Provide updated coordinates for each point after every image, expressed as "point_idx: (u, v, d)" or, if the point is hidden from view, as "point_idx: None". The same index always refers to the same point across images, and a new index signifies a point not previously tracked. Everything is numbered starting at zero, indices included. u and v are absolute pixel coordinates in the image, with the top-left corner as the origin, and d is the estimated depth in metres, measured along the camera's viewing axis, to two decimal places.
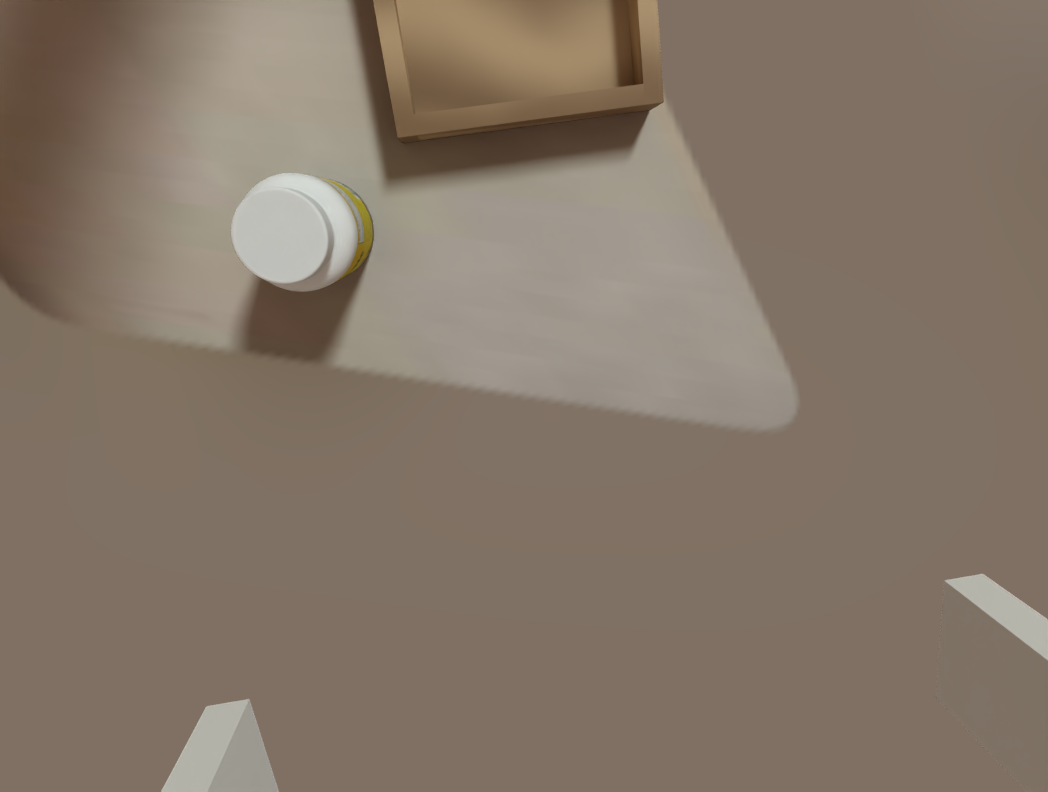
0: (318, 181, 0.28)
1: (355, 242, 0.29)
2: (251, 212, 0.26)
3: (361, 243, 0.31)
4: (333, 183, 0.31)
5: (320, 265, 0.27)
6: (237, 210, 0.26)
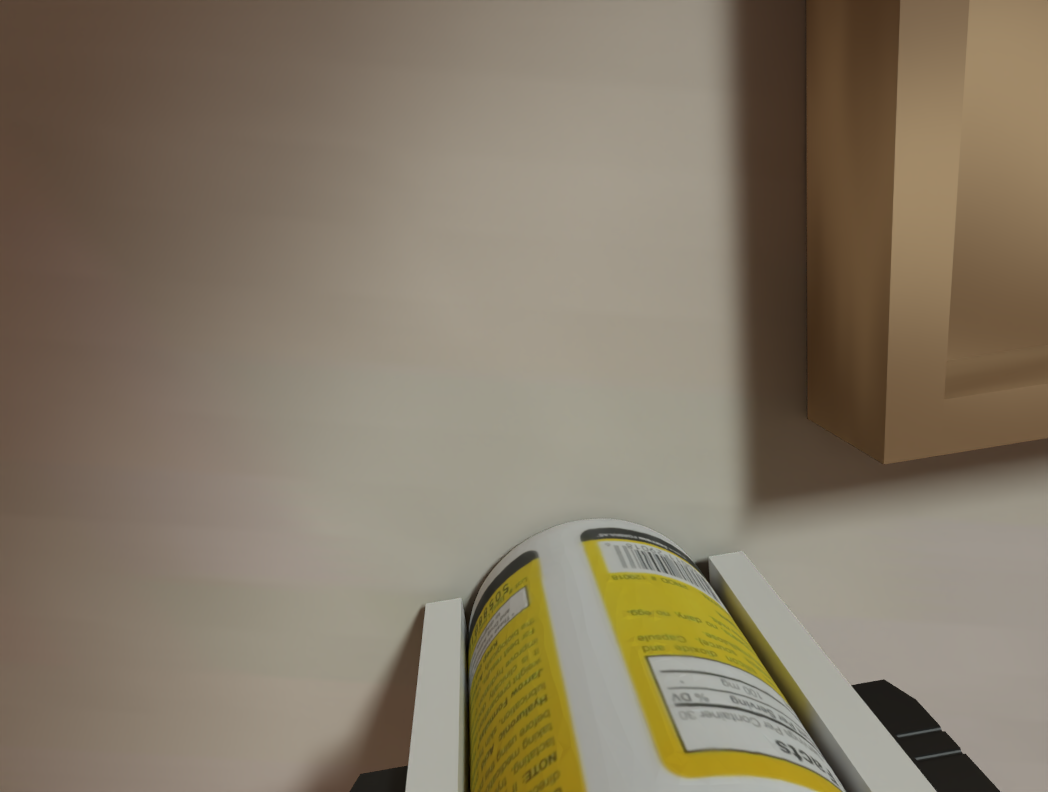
0: None
1: None
2: None
3: None
4: (738, 661, 0.09)
5: None
6: None
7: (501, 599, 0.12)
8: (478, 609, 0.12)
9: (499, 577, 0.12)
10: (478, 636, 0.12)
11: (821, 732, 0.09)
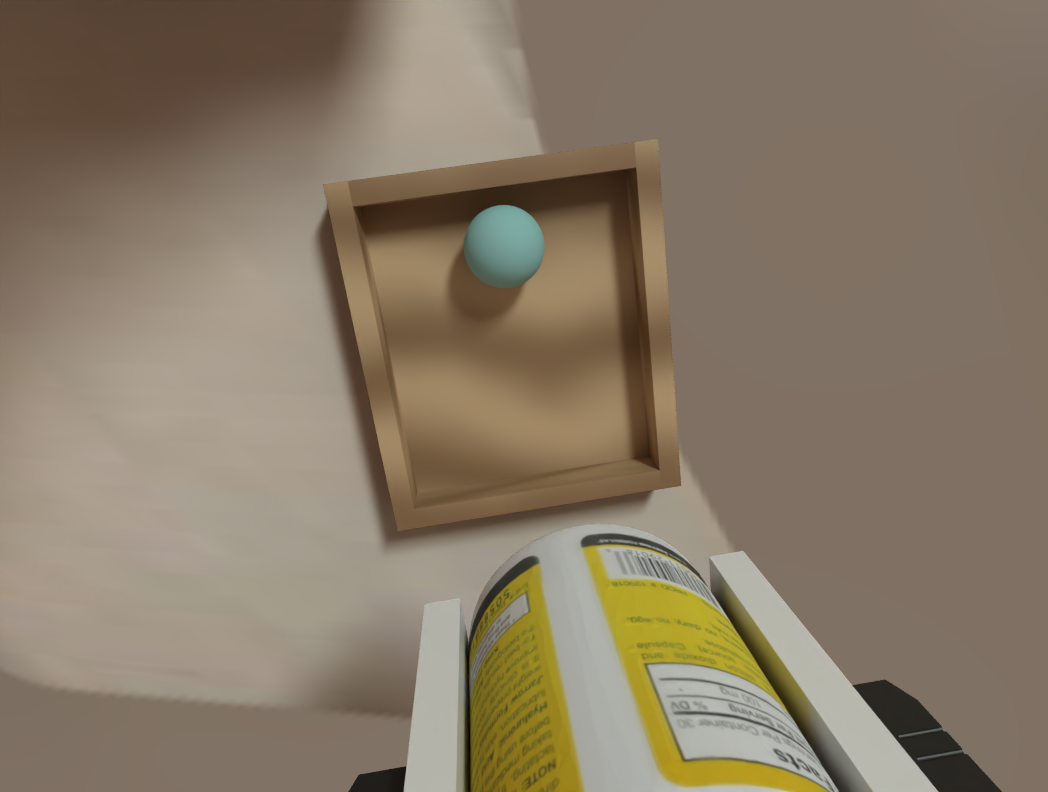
0: None
1: None
2: None
3: None
4: (737, 669, 0.09)
5: None
6: None
7: (502, 604, 0.12)
8: (479, 614, 0.13)
9: (500, 583, 0.12)
10: (478, 641, 0.12)
11: (822, 732, 0.09)
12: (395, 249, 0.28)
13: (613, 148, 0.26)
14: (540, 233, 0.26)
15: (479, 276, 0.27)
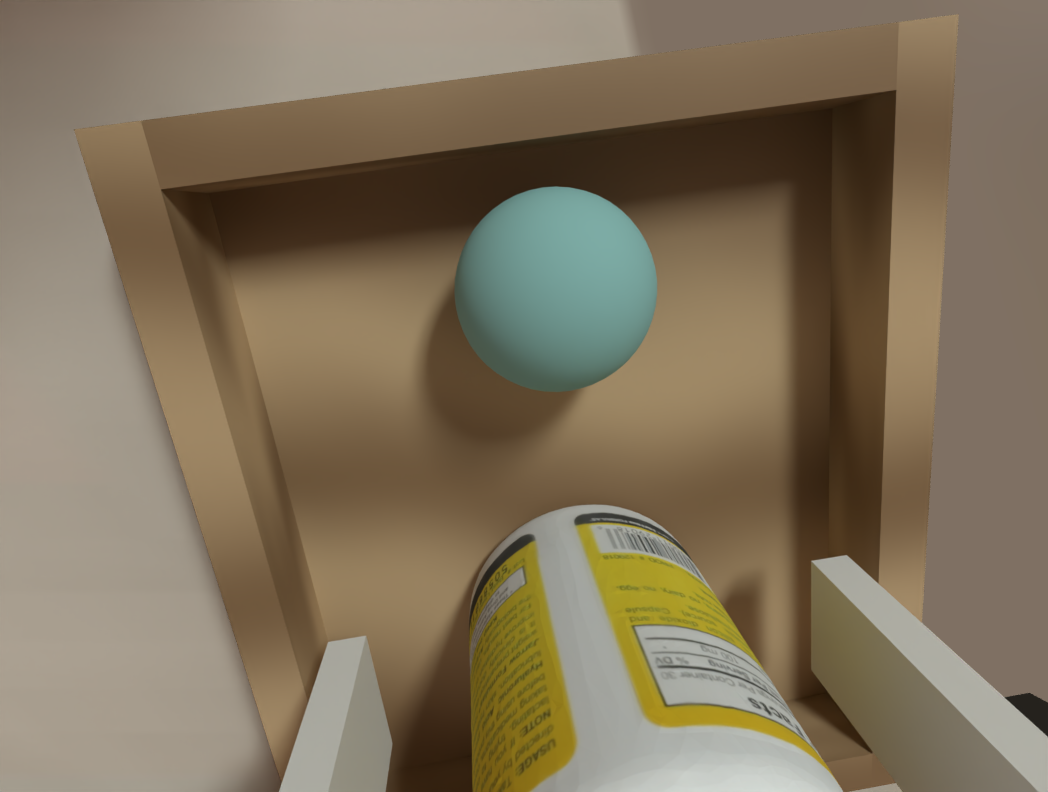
0: (800, 789, 0.07)
1: None
2: None
3: None
4: (717, 631, 0.10)
5: None
6: None
7: (500, 579, 0.12)
8: (479, 589, 0.13)
9: (498, 560, 0.13)
10: (479, 613, 0.13)
11: (983, 751, 0.09)
12: (296, 291, 0.12)
13: (844, 38, 0.10)
14: (651, 259, 0.10)
15: (494, 367, 0.11)
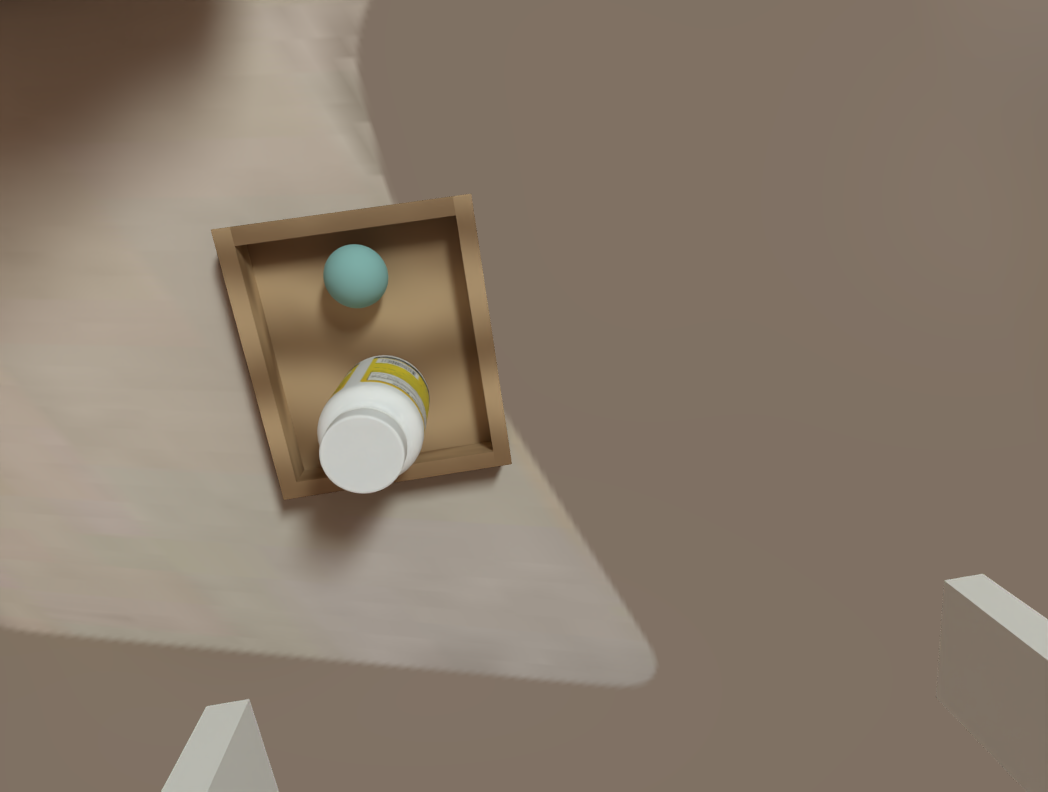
0: (391, 392, 0.31)
1: (422, 439, 0.32)
2: (337, 436, 0.29)
3: None
4: (399, 377, 0.34)
5: None
6: (325, 435, 0.29)
7: None
8: None
9: (348, 372, 0.37)
10: None
11: None
12: (275, 277, 0.36)
13: (436, 200, 0.34)
14: (381, 266, 0.34)
15: (335, 299, 0.34)
